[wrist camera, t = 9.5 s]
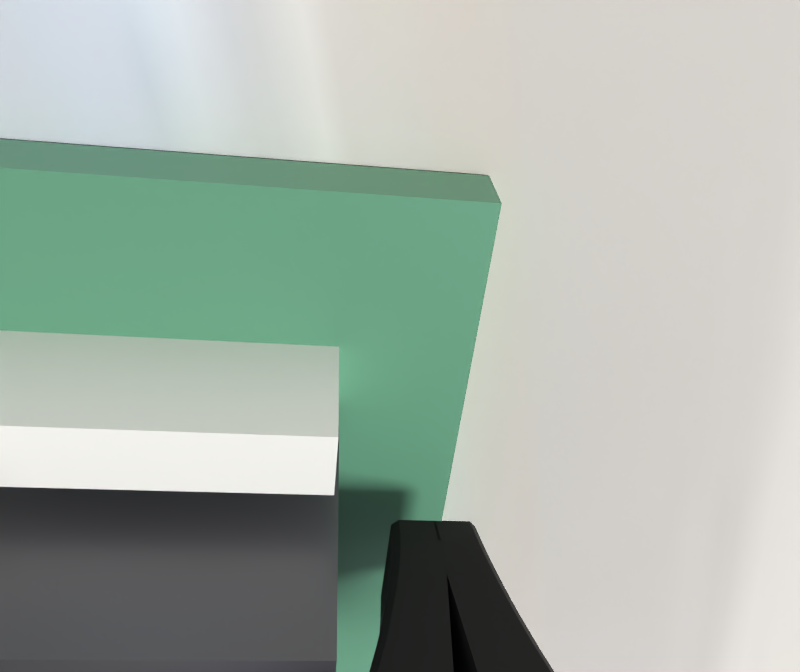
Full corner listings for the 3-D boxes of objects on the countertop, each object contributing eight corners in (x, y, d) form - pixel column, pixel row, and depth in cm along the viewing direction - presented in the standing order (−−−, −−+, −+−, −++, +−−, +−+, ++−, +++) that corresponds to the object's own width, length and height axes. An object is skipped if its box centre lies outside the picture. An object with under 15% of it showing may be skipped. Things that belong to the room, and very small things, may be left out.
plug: (327, 592, 14) (321, 836, 10) (48, 588, 13) (-54, 844, 10) (339, 428, 12) (336, 668, 8) (7, 416, 11) (-145, 668, 8)
